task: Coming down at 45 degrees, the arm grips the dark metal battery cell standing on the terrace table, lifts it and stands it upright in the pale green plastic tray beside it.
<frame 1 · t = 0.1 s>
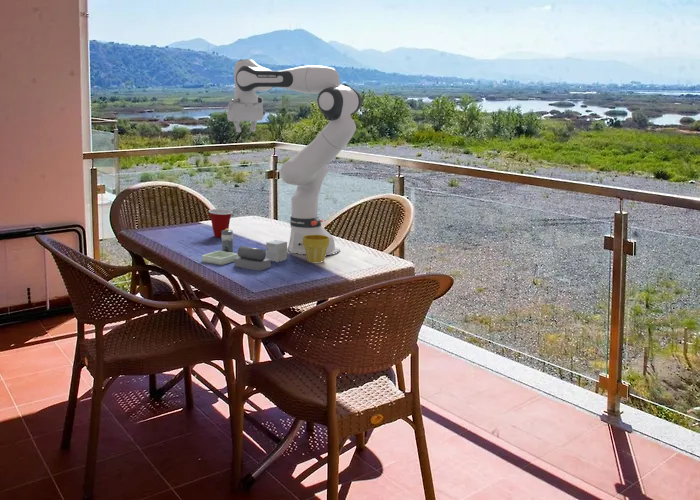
hand: (245, 131, 290), 48 cm above the table, tool pointing down, fingers open, 8 cm apart
product box: (276, 260, 268), on the table
plastic cup: (221, 236, 308), on the table
tray: (220, 260, 264), on the table
battery cell: (227, 255, 274), on the table
plant pot: (315, 261, 267), on the table
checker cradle: (252, 266, 256), on the table
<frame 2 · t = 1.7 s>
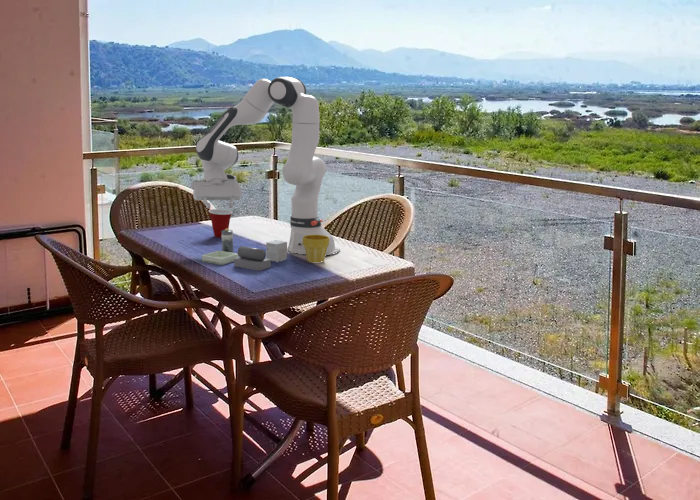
hand: (219, 207, 282), 17 cm above the table, tool tilted 45°, fingers open, 8 cm apart
nothing on the table moved.
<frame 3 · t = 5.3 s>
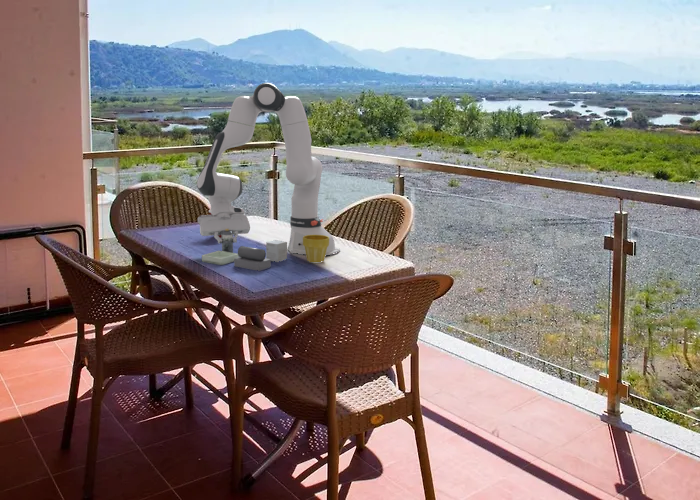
hand: (227, 242, 272), 5 cm above the table, tool tilted 45°, fingers closed on battery cell, 4 cm apart
battery cell: (227, 254, 274), on the table, touching gripper
everything else where it was.
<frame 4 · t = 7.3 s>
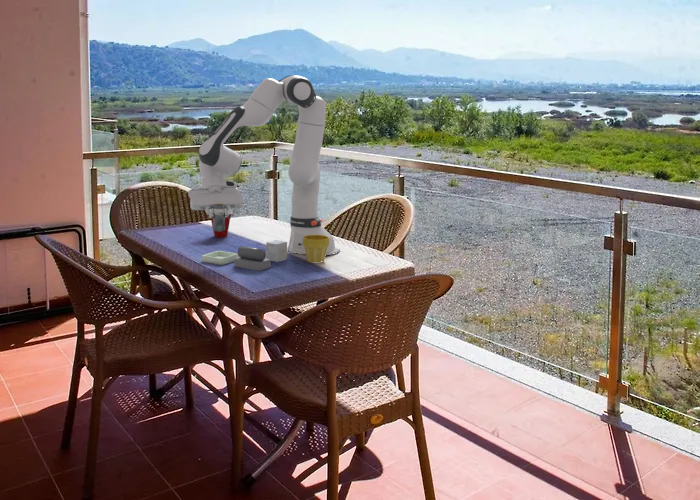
hand: (219, 216, 260), 18 cm above the table, tool tilted 45°, fingers closed on battery cell, 4 cm apart
battery cell: (219, 230, 262), point 12 cm above the table, touching gripper
everything else where it was.
when the fingers open (8 cm above the table, at t = 9.5 s): battery cell drops 1 cm, resting on tray.
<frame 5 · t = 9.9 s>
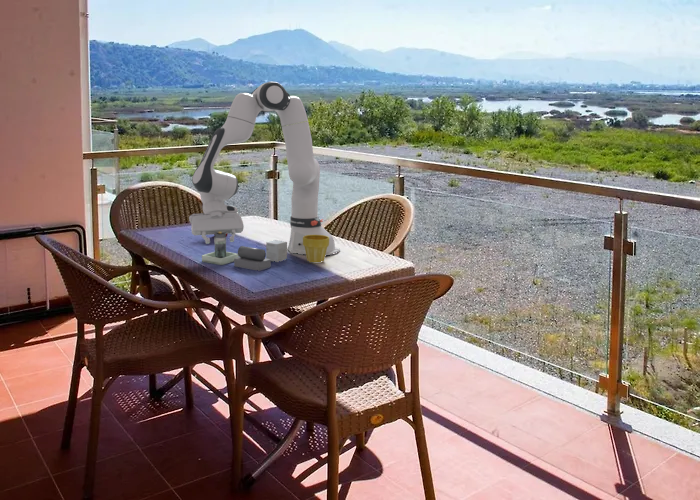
hand: (220, 242, 262), 8 cm above the table, tool tilted 45°, fingers open, 8 cm apart
battery cell: (220, 258, 264), point 1 cm above the table, touching tray
everything else where it was.
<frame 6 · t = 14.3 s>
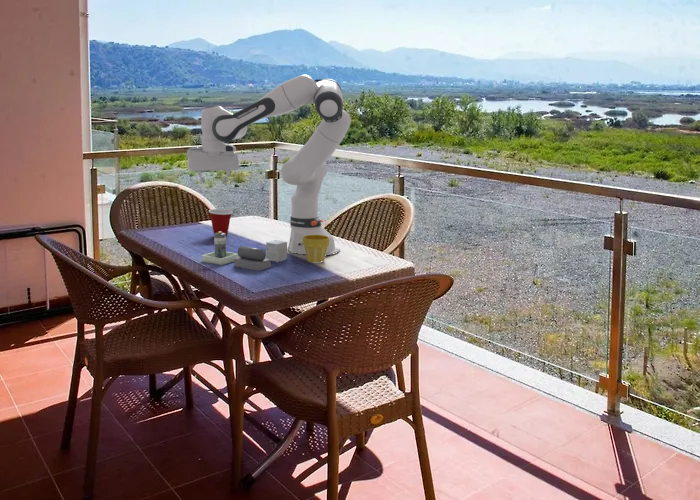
hand: (213, 181, 273), 29 cm above the table, tool pointing down, fingers open, 8 cm apart
nothing on the table moved.
at the end: battery cell inside the target area on the tray (0.1 cm from its centre), point 0.8 cm above the tray's base; battery cell tilted 0°; the gripper is holding nothing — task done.
